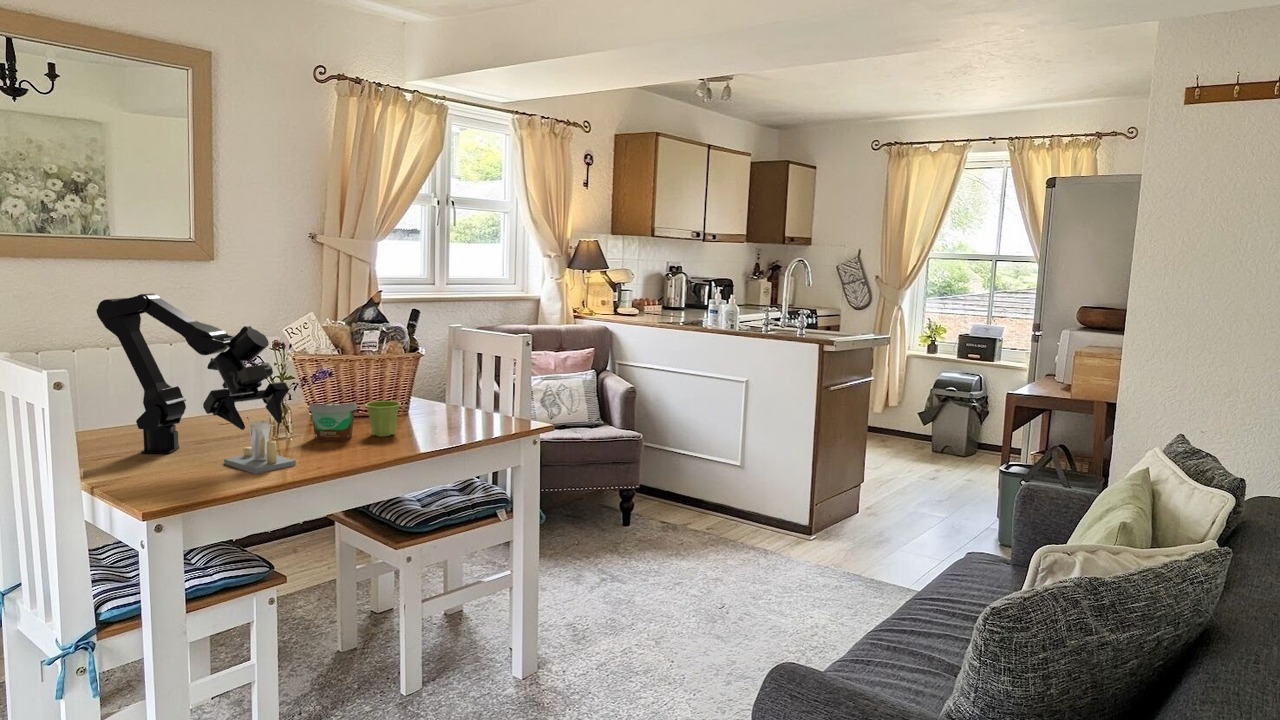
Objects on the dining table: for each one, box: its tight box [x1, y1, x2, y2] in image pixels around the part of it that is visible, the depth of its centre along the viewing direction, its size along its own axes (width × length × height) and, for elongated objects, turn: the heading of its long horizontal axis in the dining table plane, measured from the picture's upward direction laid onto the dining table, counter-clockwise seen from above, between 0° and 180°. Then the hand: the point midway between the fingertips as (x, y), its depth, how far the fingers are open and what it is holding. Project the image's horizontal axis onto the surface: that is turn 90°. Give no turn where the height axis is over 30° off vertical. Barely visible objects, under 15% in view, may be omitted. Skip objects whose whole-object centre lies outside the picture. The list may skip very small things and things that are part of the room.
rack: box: [223, 440, 297, 475], centre depth 194 cm, size 13×10×6 cm
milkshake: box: [246, 416, 272, 461], centre depth 193 cm, size 4×5×10 cm
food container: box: [308, 401, 358, 443], centre depth 220 cm, size 12×6×10 cm, turn 105°
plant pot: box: [364, 400, 402, 438], centre depth 228 cm, size 9×9×9 cm
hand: (262, 425), depth 192 cm, fingers open, 9 cm apart
